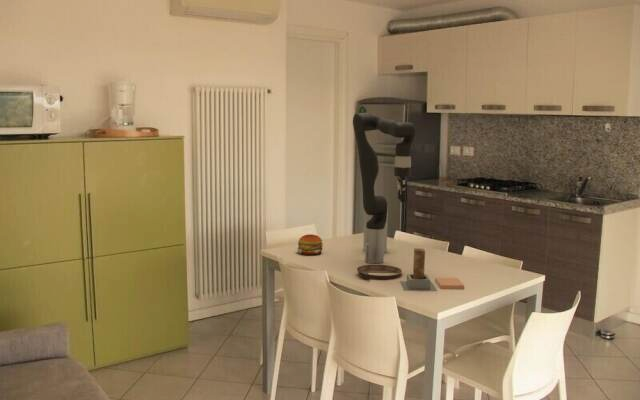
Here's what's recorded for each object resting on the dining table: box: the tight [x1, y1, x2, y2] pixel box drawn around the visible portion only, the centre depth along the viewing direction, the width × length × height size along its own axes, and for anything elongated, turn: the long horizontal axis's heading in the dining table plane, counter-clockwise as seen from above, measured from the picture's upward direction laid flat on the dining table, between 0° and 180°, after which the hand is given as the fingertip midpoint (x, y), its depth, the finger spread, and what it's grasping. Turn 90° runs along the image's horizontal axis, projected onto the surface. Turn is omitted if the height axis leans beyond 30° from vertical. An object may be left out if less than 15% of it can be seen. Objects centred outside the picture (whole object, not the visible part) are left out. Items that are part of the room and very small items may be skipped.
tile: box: [434, 276, 465, 290], centre depth 261 cm, size 10×3×12 cm
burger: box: [297, 234, 324, 256], centre depth 320 cm, size 14×14×10 cm
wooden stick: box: [412, 248, 426, 279], centre depth 258 cm, size 4×4×16 cm
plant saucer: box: [356, 264, 403, 280], centre depth 278 cm, size 21×21×3 cm
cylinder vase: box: [363, 205, 389, 254], centre depth 324 cm, size 12×12×25 cm
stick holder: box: [399, 273, 438, 292], centre depth 258 cm, size 14×14×5 cm
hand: (401, 200), depth 280 cm, fingers open, 8 cm apart
